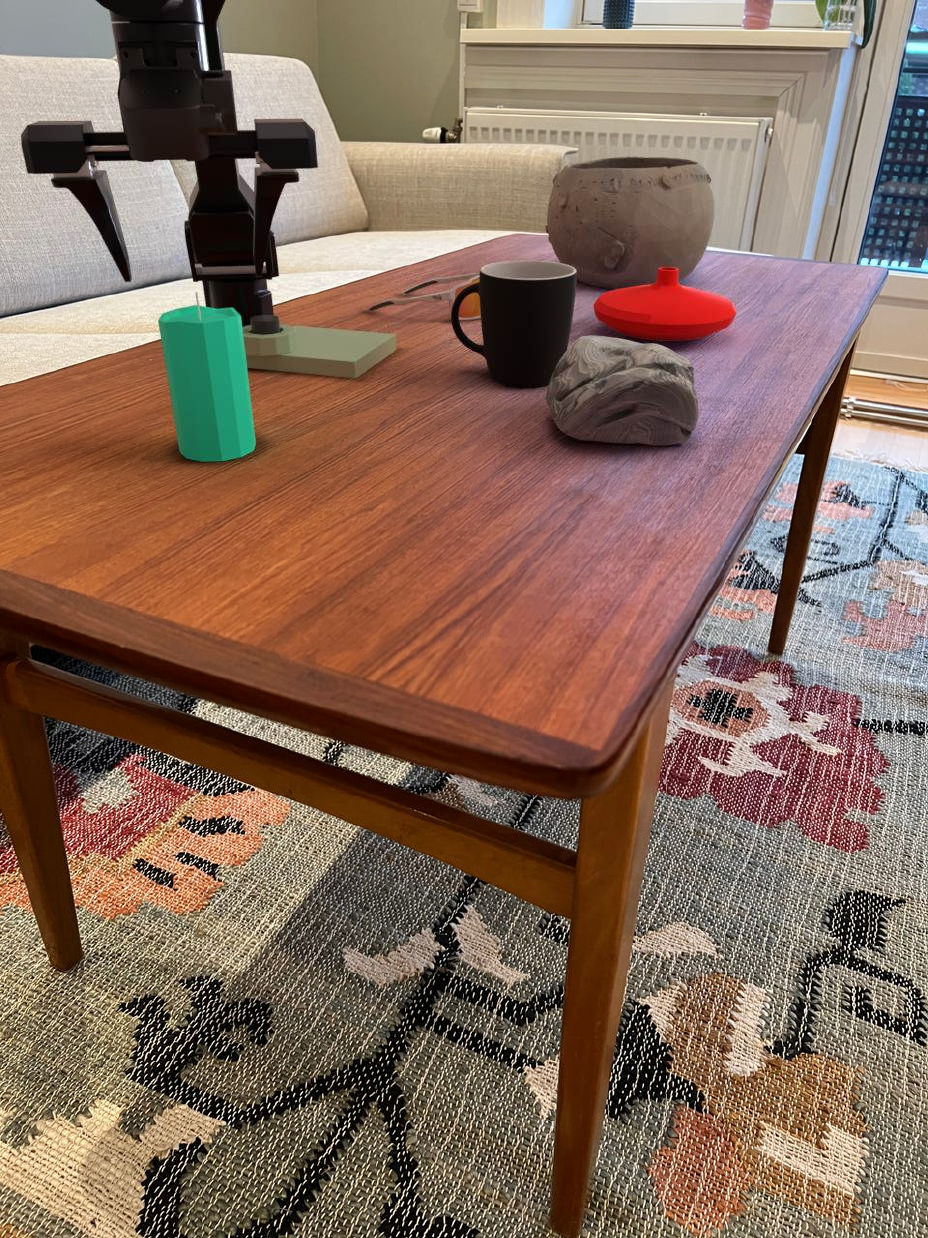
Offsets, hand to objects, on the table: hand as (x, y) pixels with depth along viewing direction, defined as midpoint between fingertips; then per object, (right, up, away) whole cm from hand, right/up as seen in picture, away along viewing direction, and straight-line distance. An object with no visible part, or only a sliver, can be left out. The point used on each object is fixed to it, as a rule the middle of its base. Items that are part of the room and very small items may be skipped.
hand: (194, 278), depth 68 cm
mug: (+24, -1, +24) cm, 34 cm away
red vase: (+42, +7, +38) cm, 57 cm away
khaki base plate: (+5, +2, +29) cm, 29 cm away
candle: (0, -11, +7) cm, 13 cm away
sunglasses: (+17, +14, +48) cm, 53 cm away
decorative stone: (+33, -9, +11) cm, 36 cm away
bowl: (+43, +24, +64) cm, 81 cm away
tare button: (0, +4, +25) cm, 25 cm away
